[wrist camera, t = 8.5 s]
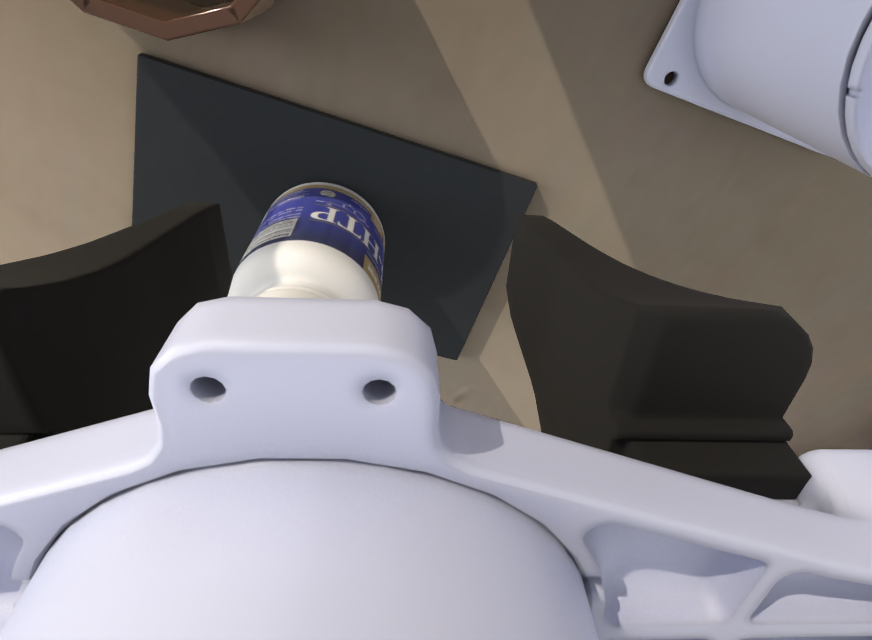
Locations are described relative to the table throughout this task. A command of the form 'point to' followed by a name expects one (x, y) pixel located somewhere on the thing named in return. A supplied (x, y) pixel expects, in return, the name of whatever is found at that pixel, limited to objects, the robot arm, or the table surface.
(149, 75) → the mat
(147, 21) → the brown bowl
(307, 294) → the pill bottle
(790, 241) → the table surface
